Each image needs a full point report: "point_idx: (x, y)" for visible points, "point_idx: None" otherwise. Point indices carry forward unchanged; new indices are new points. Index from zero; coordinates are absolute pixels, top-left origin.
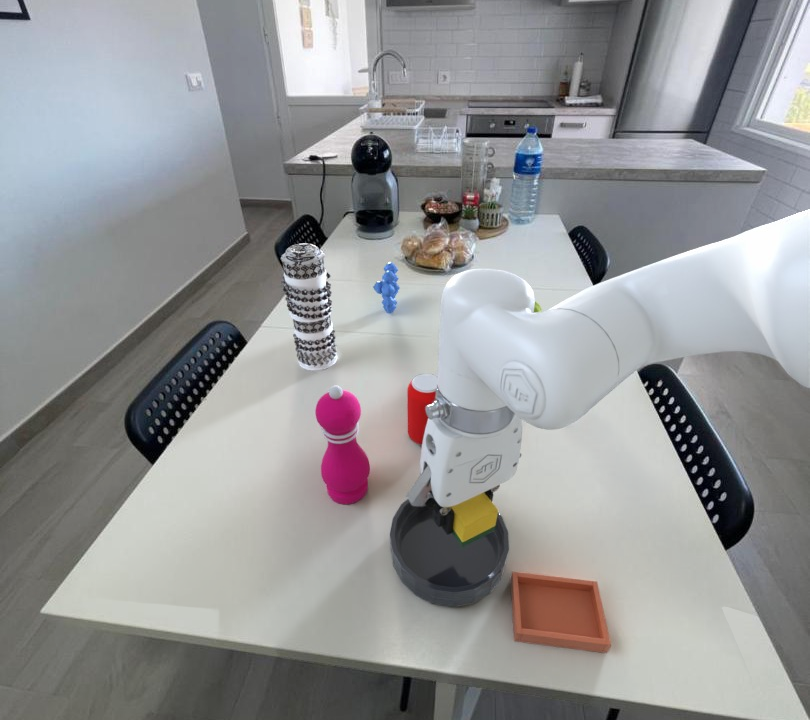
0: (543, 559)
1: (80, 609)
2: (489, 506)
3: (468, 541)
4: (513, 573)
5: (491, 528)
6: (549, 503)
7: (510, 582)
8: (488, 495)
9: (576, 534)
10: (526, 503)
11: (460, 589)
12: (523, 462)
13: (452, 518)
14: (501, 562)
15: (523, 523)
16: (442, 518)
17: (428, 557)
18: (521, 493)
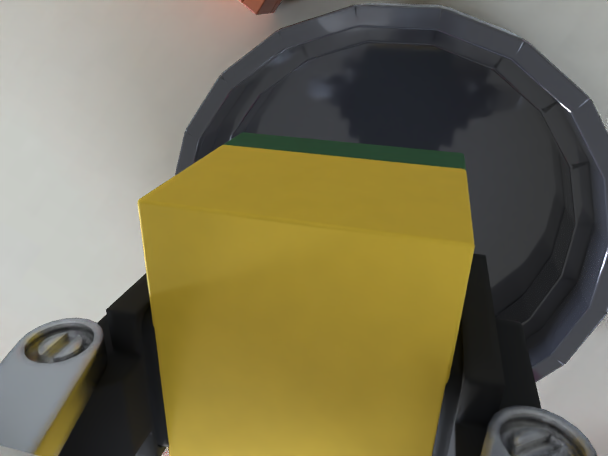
0: (139, 11)
1: None
2: (181, 259)
3: (418, 157)
4: (256, 5)
5: (250, 144)
6: (29, 148)
7: (279, 3)
8: (141, 322)
9: (6, 23)
10: (89, 186)
11: (496, 41)
12: (33, 283)
13: (473, 340)
14: (277, 46)
15: (130, 142)
16: (513, 370)
17: None
18: (86, 218)
